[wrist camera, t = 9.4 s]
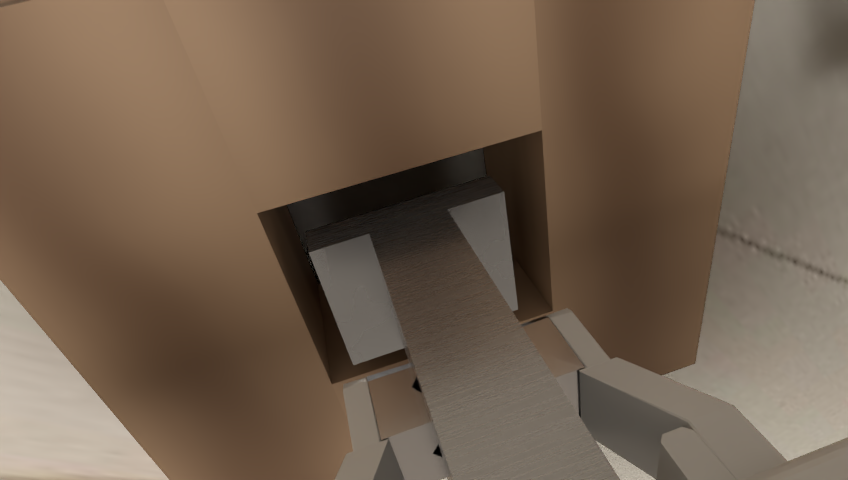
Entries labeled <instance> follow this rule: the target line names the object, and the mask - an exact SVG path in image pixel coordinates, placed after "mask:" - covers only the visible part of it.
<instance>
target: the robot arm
mask: <svg viewBox="0 0 848 480" xmlns="http://www.w3.org/2000/svg"><path fill="white" fill-rule="evenodd" d="M521 326H522V327H523V329H524V330H525V332H526V333H527V335H528V337H529V338H530V340H531V341H532V343H533V344H534V346H535V347H536V349H537V351H538V352H539V354H540V355H541V357H542V358H543V360H544V362H545V363H546V365H547V366H548V368H549V369H550V371H551V373H552V374H553V376H554V377H555V379H556V380H557V382H558V383H559V385H560V387H561V388H562V390H563V391H564V393H565V394H566V396H567V398H568V399H569V401H570V402H571V404H572V405H573V407H574V409H575V410H576V412H577V413H578V415H579V416H580V418H581V419H582V421H583V423H584V424H585V426H586V427H587V429H588V430H589V432H590V434H591V435H592V437H593V438H594V439H595V440H596V441H598V442H599V443H601V444H602V445H604V446H606V447H607V448H609V449H610V450H612V451H613V452H615V453H616V454H618V455H619V456H621V457H623V458H624V459H626V460H627V461H629V462H630V463H632V464H633V465H635V466H636V467H638V468H640V469H641V470H643V471H644V472H646V473H647V474H649V475H650V476H652V477H654V478H655V479H656V480H848V438H845V439H843V440H840V441H838V442H835V443H833V444H830V445H828V446H825V447H823V448H820V449H818V450H815V451H813V452H810V453H808V454H805V455H803V456H800V457H798V458H795V459H793V460H790V461H787V460H786V459H785V458H784V457H783V456H782V455H781V454H780V453H779V452H778V451H777V450H776V449H775V448H774V447H773V446H772V445H771V443H770V442H769V441H768V440H767V439H766V438H765V437H764V436H763V435H762V434H761V433H760V432H759V431H758V430H757V429H756V428H755V427H754V426H753V425H752V424H751V423H750V422H749V421H748V420H747V419H746V418H745V417H744V416H743V415H742V413H741V412H740V411H739V410H738V409H737V408H736V407H735V406H734V405H731V404H729V403H726V402H724V401H722V400H719V399H717V398H714V397H712V396H710V395H707V394H705V393H702V392H700V391H698V390H695V389H693V388H690V387H688V386H685V385H683V384H681V383H678V382H676V381H673V380H671V379H669V378H666V377H664V376H661V375H659V374H657V373H654V372H652V371H649V370H647V369H644V368H642V367H640V366H637V365H635V364H632V363H630V362H628V361H625V360H623V359H620V358H618V357H616V358H613V359H610V358H609V357H608V355H607V354H606V353H605V352H604V350H603V349H602V348H601V347H600V345H599V344H598V343H597V342H596V340H595V339H594V338H593V337H592V335H591V334H590V333H589V332H588V330H587V329H586V328H585V327H584V326H583V324H582V323H581V322H580V321H579V319H578V318H577V317H576V316H575V314H574V313H573V312H572V311H571V310H570V309H568V308H566V309H563V310H560V311H557V312H555V313H552V314H549V315H546V316H543V317H540V318H537V319H534V320H531V321H529V322H526V323H523V324H521ZM343 395H344V401H345V407H346V412H347V418H348V424H349V430H350V436H351V442H352V448H353V451H352V452H350V453H347V454H346V455H345V458H344V460H343V462H342V464H341V466H340V469H339V471H338V473H337V475H336V478H335V480H441V479H444V478H446V477H448V475H447V472H446V468H445V465H444V462H443V458H442V455H441V452H440V449H439V446H438V441H437V438H436V435H435V431H434V428H433V424H432V421H431V418H430V415H429V412H428V409H427V406H426V403H425V400H424V398H423V395H422V393H421V390H420V387H419V384H418V380H417V377H416V374H415V371H414V368H413V365H412V362H411V363H408V364H405V365H402V366H399V367H395V368H392V369H389V370H386V371H383V372H380V373H376V374H373V375H370V376H367V377H365V378H362V379H359V380H356V381H352V382H349V383H346V384H343Z"/></svg>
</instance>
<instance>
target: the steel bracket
mask: <svg viewBox="0 0 848 480" xmlns="http://www.w3.org/2000/svg"><path fill="white" fill-rule="evenodd" d="M306 237H307V244H308V251H309V254H310V257H311V259H312V262H313V265H314V267H315V270H316V272H317V275H318V277H319V280H320V282H321V285H322V287H323V290H324V292H325V295H326V297H327V300H328V302H329V305H330V308H331V310H332V313H333V315H334V318H335V320H336V323H337V325H338V328H339V330H340V333H341V335H342V338H343V340H344V343H345V345H346V348H347V351H348V353H349V356H350V358H351V361H352V363H353V365H356V364H359V363H362V362H365V361H368V360H371V359H374V358H376V357H379V356H382V355H385V354H388V353H391V352H394V351H397V350H400V349H403V348H404V349H405V352H406V355H407V358H408V361H409V363H411V362H412V365H413V368H414V371H415V374H416V377H417V380H418V384H419V387H420V390H421V393H422V395H423V398H424V400H425V403H426V406H427V409H428V412H429V415H430V418H431V421H432V424H433V428H434V431H435V435H436V438H437V441H438V446H439V449H440V452H441V455H442V458H443V462H444V465H445V468H446V472H447V475H448V477H447V479H448V480H620V479H619V477H618V476H617V474H616V473H615V471H614V470H613V468H612V466H611V465H610V463H609V462H608V460H607V459H606V457H605V455H604V454H603V452H602V451H601V449H600V448H599V446H598V445H597V443H596V441H595V440H594V438H593V437H592V435H591V434H590V432H589V430H588V429H587V427H586V426H585V424H584V423H583V421H582V419H581V418H580V416H579V415H578V413H577V412H576V410H575V409H574V407H573V405H572V404H571V402H570V401H569V399H568V398H567V396H566V394H565V393H564V391H563V390H562V388H561V387H560V385H559V383H558V382H557V380H556V379H555V377H554V376H553V374H552V373H551V371H550V369H549V368H548V366H547V365H546V363H545V362H544V360H543V358H542V357H541V355H540V354H539V352H538V351H537V349H536V347H535V346H534V344H533V343H532V341H531V340H530V338H529V337H528V335H527V333H526V332H525V330H524V329H523V327H522V326H521V324H520V322H519V321H518V319H517V318H516V316H515V315H514V313H513V311H515V310H518V303H517V295H516V287H515V278H514V270H513V262H512V253H511V245H510V237H509V228H508V220H507V212H506V203H505V195H504V191H503V190H502V189H501V188H500V187H499V185H498V184H497V183H496V182H495V181H494V180H493V179H492V178H491V176H490V175H489V176H486V177H483V178H479V179H476V180H473V181H470V182H466V183H463V184H460V185H457V186H453V187H450V188H447V189H444V190H440V191H437V192H434V193H430V194H427V195H424V196H421V197H417V198H414V199H411V200H408V201H404V202H401V203H398V204H395V205H391V206H388V207H385V208H381V209H378V210H375V211H372V212H368V213H365V214H362V215H359V216H355V217H352V218H349V219H346V220H342V221H339V222H336V223H332V224H329V225H326V226H323V227H319V228H316V229H313V230H310V231H306Z"/></svg>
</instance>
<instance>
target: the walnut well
mask: <svg viewBox="0 0 848 480" xmlns="http://www.w3.org/2000/svg"><path fill="white" fill-rule="evenodd" d="M754 2H755V0H0V280H1V281H2V282H3V283H4V285H5V286H6V287H7V288H8V289H9V290H10V292H11V293H12V294H13V295H14V296H15V298H16V299H17V300H18V301H19V302H20V303H21V305H22V306H23V307H24V308H25V309H26V311H27V312H28V313H29V314H30V315H31V316H32V318H33V319H34V320H35V321H36V322H37V324H38V325H39V326H40V327H41V328H42V329H43V331H44V332H45V333H46V334H47V335H48V337H49V338H50V339H51V340H52V341H53V343H54V344H55V345H56V346H57V347H58V348H59V350H60V351H61V352H62V353H63V354H64V356H65V357H66V358H67V359H68V360H69V361H70V363H71V364H72V365H73V366H74V367H75V369H76V370H77V371H78V372H79V373H80V374H81V376H82V377H83V378H84V379H85V380H86V382H87V383H88V384H89V385H90V386H91V387H92V389H93V390H94V391H95V392H96V393H97V395H98V396H99V397H100V398H101V399H102V400H103V402H104V403H105V404H106V405H107V406H108V408H109V409H110V410H111V411H112V412H113V413H114V415H115V416H116V417H117V418H118V419H119V421H120V422H121V423H122V424H123V425H124V427H125V428H126V429H127V430H128V431H129V432H130V434H131V435H132V436H133V437H134V438H135V440H136V441H137V442H138V443H139V444H140V445H141V447H142V448H143V449H144V450H145V451H146V453H147V454H148V455H149V456H150V457H151V458H152V460H153V461H154V462H155V463H156V464H157V466H158V467H159V468H160V469H161V470H162V471H163V473H164V474H165V475H166V476H167V477H168V479H169V480H335V478H336V475H337V473H338V471H339V469H340V466H341V464H342V462H343V460H344V458H345V455H346V454H347V453H350V452H352V451H353V448H352V442H351V436H350V430H349V424H348V418H347V412H346V407H345V401H344V395H343V384H346V383H349V382H352V381H356V380H359V379H362V378H365V377H367V376H370V375H373V374H376V373H380V372H383V371H386V370H389V369H392V368H395V367H399V366H402V365H405V364H408V363H409V361H408V358H407V355H406V352H405V349H404V348H403V349H400V350H397V351H394V352H391V353H388V354H385V355H382V356H379V357H376V358H374V359H371V360H368V361H365V362H362V363H359V364H356V365H353V363H352V361H351V358H350V356H349V353H348V351H347V348H346V345H345V343H344V340H343V338H342V335H341V333H340V330H339V328H338V325H337V323H336V320H335V318H334V315H333V313H332V310H331V308H330V305H329V302H328V300H327V297H326V295H325V292H324V290H323V287H322V285H321V283H320V284H317V281H316V279H315V276H314V274H313V271H312V269H311V266H310V264H309V261H308V259H307V256H306V254H305V251H304V249H303V246H302V244H301V241H300V238H299V236H298V233H297V231H296V228H295V226H294V223H293V221H292V218H291V216H290V213H289V211H288V208H287V206H286V205H287V204H290V203H294V202H297V201H301V200H304V199H308V198H311V197H315V196H318V195H321V194H325V193H328V192H332V191H335V190H339V189H342V188H345V187H349V186H352V185H356V184H359V183H363V182H366V181H369V180H373V179H376V178H380V177H383V176H387V175H390V174H394V173H397V172H400V171H404V170H407V169H411V168H414V167H418V166H421V165H424V164H428V163H431V162H435V161H438V160H442V159H445V158H448V157H452V156H455V155H459V154H462V153H466V152H469V151H473V150H476V149H479V148H483V150H484V158H485V165H486V173H487V176H489V175H490V176H491V178H492V179H493V180H494V181H495V182H496V183H497V184H498V185H499V187H500V188H501V189H502V190H503V191H504V195H505V203H506V212H507V220H508V228H509V237H510V245H511V253H512V262H513V270H514V278H515V287H516V295H517V303H518V310H515V311H513V313H514V315H515V316H516V318H517V319H518V321H519V322H520V324H523V323H526V322H529V321H531V320H534V319H537V318H540V317H543V316H546V315H549V314H552V313H555V312H557V311H560V310H563V309H566V308H568V309H570V310H571V311H572V312H573V313H574V314H575V316H576V317H577V318H578V319H579V321H580V322H581V323H582V324H583V326H584V327H585V328H586V329H587V330H588V332H589V333H590V334H591V335H592V337H593V338H594V339H595V340H596V342H597V343H598V344H599V345H600V347H601V348H602V349H603V350H604V352H605V353H606V354H607V355H608V357H609V358H610V359H613V358H616V357H618V358H620V359H623V360H625V361H628V362H630V363H632V364H635V365H637V366H640V367H642V368H644V369H647V370H649V371H652V372H654V373H657V374H659V375H664V374H667V373H669V372H672V371H675V370H678V369H681V368H683V367H686V366H689V365H692V364H695V361H696V355H697V349H698V343H699V337H700V330H701V324H702V318H703V312H704V306H705V300H706V294H707V288H708V282H709V276H710V270H711V264H712V258H713V252H714V245H715V239H716V233H717V227H718V221H719V215H720V209H721V203H722V197H723V191H724V185H725V179H726V173H727V166H728V160H729V154H730V148H731V142H732V136H733V130H734V124H735V118H736V112H737V106H738V100H739V94H740V87H741V81H742V75H743V69H744V63H745V57H746V51H747V45H748V39H749V33H750V27H751V21H752V15H753V8H754Z"/></svg>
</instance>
